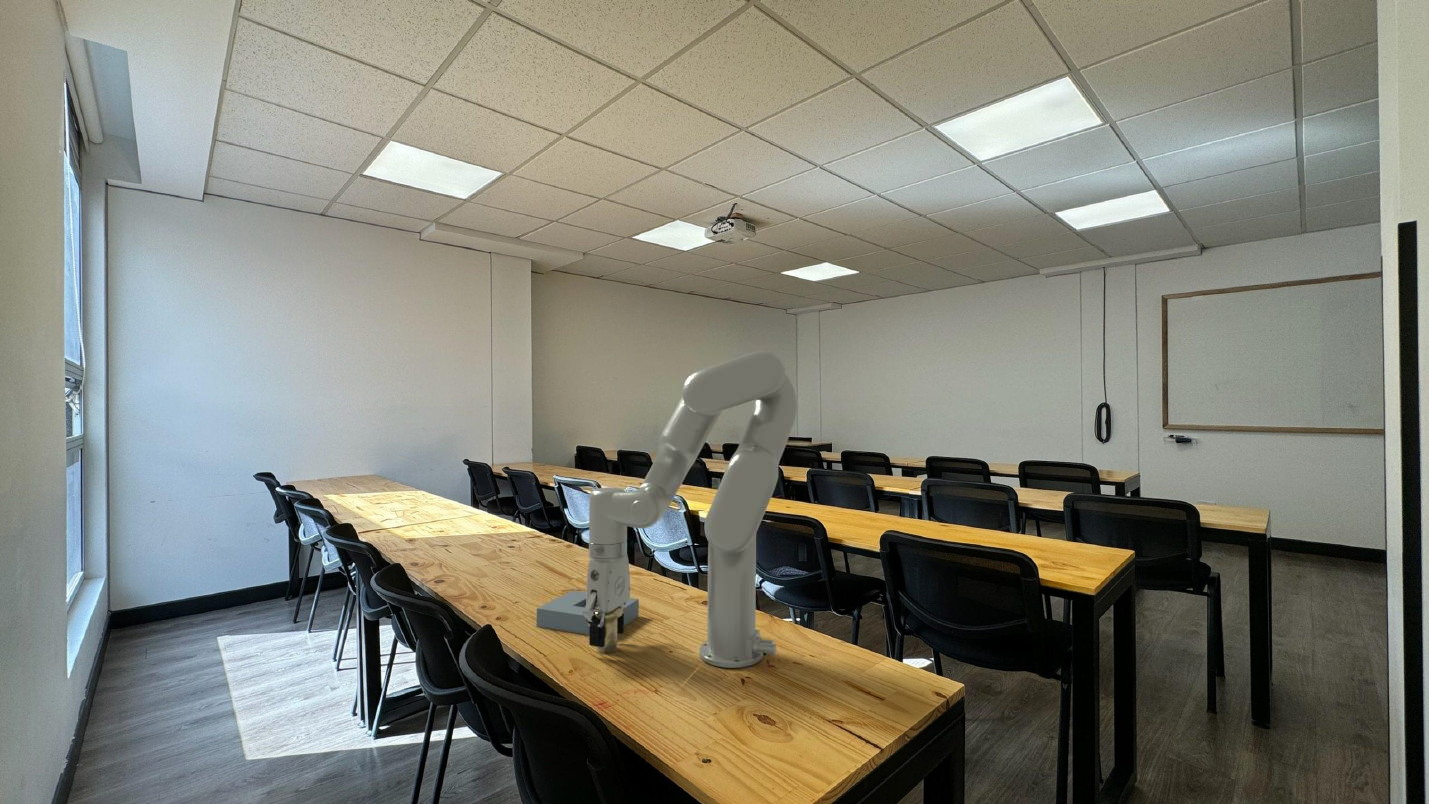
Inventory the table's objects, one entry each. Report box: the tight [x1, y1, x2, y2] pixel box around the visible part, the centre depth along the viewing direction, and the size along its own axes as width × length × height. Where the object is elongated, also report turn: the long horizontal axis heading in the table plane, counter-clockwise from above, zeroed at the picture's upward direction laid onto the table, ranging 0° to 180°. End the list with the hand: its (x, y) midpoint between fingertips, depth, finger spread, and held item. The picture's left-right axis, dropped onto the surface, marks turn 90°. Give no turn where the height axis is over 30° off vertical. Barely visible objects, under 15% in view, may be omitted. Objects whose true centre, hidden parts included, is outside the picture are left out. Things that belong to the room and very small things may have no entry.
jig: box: [536, 589, 640, 636], centre depth 131 cm, size 18×14×4 cm
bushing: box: [595, 606, 622, 654], centre depth 116 cm, size 6×6×8 cm
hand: (607, 638), depth 116 cm, fingers open, 6 cm apart
